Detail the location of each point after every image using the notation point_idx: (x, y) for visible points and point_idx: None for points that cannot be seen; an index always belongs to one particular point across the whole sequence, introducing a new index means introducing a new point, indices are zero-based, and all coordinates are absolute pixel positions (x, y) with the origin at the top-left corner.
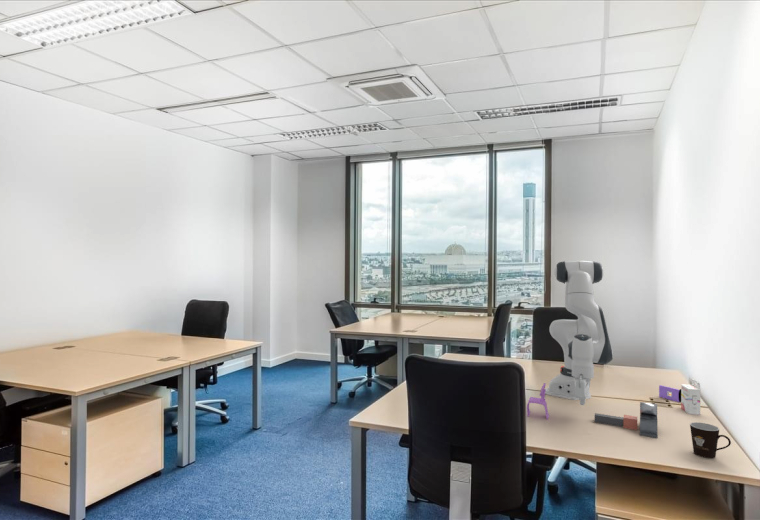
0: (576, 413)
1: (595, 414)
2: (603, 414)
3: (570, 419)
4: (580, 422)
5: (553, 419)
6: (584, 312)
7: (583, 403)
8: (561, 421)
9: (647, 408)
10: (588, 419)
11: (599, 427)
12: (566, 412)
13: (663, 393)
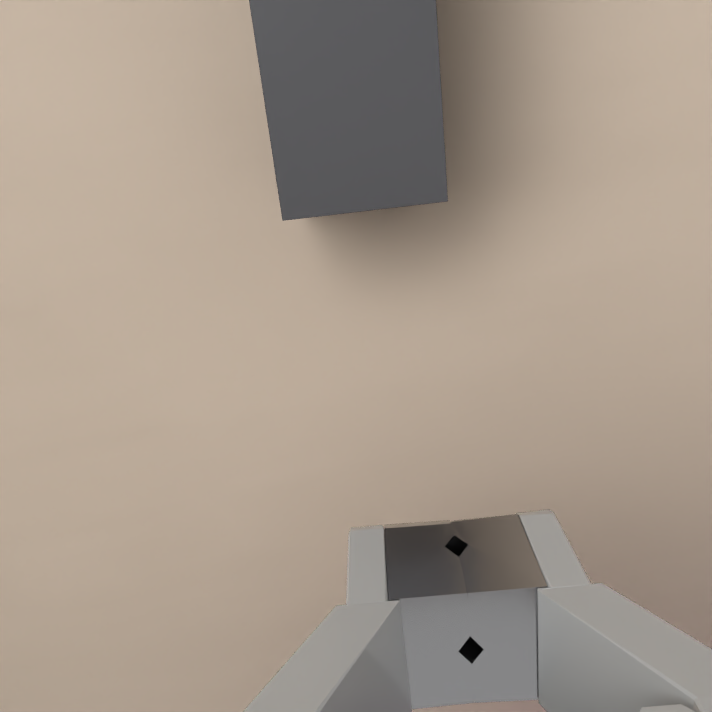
0: (133, 528)
1: (388, 192)
2: (258, 18)
3: None
4: (562, 382)
5: None
6: None
7: (565, 556)
8: (659, 596)
9: None
10: (320, 313)
11: (678, 45)
12: (193, 640)
13: None
